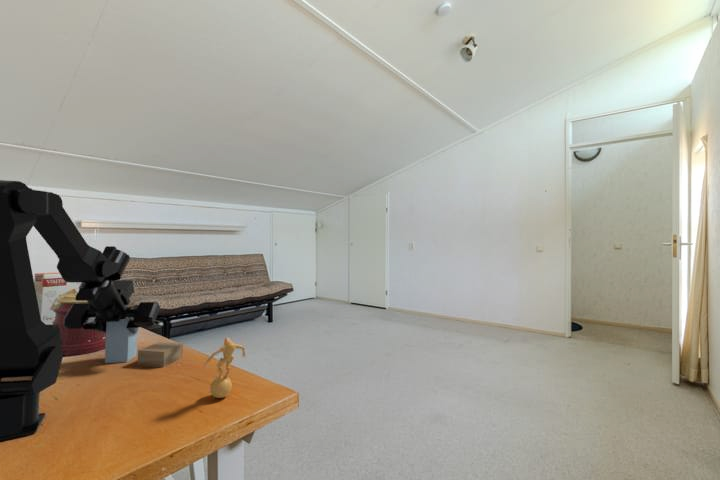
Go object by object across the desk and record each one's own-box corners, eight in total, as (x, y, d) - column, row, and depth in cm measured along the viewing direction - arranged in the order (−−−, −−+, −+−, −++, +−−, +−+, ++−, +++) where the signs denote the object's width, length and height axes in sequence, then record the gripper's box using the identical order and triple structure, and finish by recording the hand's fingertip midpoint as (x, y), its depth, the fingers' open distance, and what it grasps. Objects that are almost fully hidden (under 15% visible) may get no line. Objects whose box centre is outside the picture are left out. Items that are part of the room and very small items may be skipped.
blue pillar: (127, 362, 81) (129, 314, 82) (104, 363, 80) (106, 315, 80) (136, 355, 86) (138, 310, 86) (115, 356, 85) (117, 311, 85)
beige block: (163, 368, 78) (164, 351, 78) (137, 366, 79) (138, 350, 79) (182, 358, 85) (183, 343, 85) (158, 357, 86) (159, 342, 86)
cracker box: (39, 346, 92) (42, 273, 93) (29, 343, 95) (33, 272, 95) (95, 335, 105) (98, 271, 106) (85, 332, 107) (88, 270, 108)
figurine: (235, 387, 68) (237, 330, 68) (250, 396, 64) (252, 335, 64) (194, 401, 61) (196, 338, 62) (208, 411, 57) (210, 344, 58)
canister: (78, 358, 83) (81, 290, 84) (37, 354, 85) (40, 288, 86) (122, 343, 96) (125, 285, 97) (85, 341, 98) (88, 283, 99)
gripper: (158, 270, 82) (172, 306, 92) (73, 270, 78) (97, 307, 88) (143, 306, 74) (160, 341, 84) (48, 308, 70) (78, 344, 80)
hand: (124, 332), depth 85 cm, fingers closed on blue pillar, 5 cm apart
